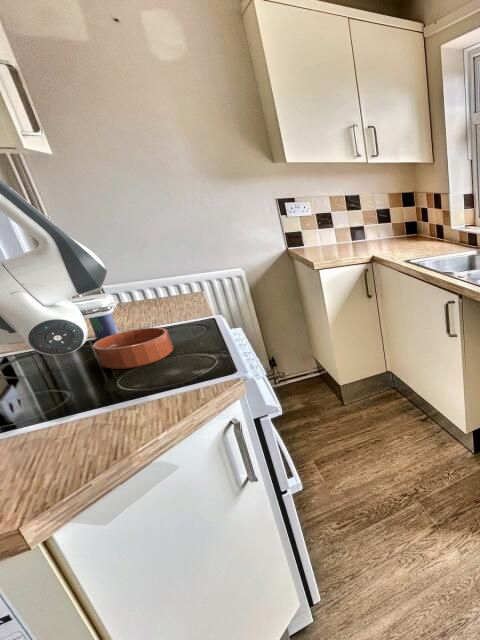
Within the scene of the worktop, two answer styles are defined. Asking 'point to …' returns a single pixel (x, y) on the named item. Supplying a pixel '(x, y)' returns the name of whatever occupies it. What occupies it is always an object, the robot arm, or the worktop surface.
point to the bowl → (133, 348)
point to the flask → (103, 326)
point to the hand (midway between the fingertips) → (48, 305)
